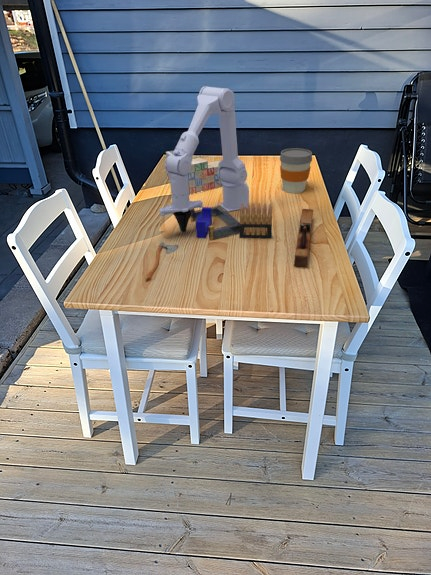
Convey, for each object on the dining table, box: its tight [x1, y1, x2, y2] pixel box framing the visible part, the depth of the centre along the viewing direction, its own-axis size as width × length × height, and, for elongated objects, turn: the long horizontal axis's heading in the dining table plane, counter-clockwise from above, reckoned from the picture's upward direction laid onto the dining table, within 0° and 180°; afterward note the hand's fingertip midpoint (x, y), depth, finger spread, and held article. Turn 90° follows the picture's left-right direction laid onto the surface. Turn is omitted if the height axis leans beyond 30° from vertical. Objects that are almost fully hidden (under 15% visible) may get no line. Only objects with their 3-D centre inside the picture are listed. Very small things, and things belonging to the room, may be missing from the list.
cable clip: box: [195, 206, 213, 239], centre depth 145 cm, size 12×4×6 cm, turn 171°
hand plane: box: [293, 208, 314, 269], centre depth 135 cm, size 34×5×10 cm, turn 169°
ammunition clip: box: [238, 202, 273, 240], centre depth 138 cm, size 11×2×12 cm, turn 85°
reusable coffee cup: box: [279, 147, 313, 194], centre depth 171 cm, size 13×13×15 cm
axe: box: [145, 241, 179, 282], centre depth 129 cm, size 22×6×2 cm, turn 175°
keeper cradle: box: [189, 205, 240, 241], centre depth 147 cm, size 12×18×4 cm, turn 26°
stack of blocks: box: [188, 157, 223, 196], centre depth 175 cm, size 21×6×12 cm, turn 122°
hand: (183, 230), depth 144 cm, fingers closed
